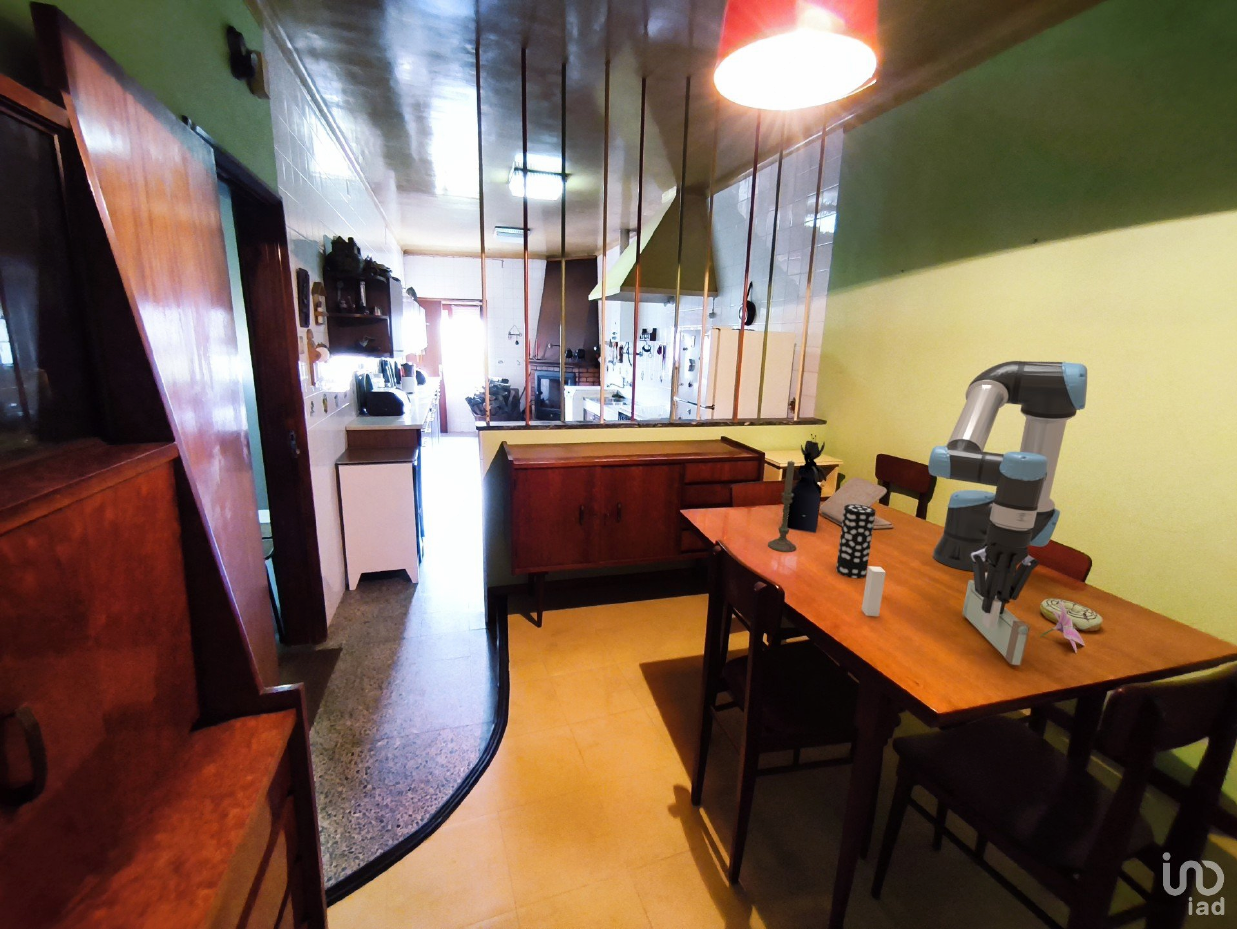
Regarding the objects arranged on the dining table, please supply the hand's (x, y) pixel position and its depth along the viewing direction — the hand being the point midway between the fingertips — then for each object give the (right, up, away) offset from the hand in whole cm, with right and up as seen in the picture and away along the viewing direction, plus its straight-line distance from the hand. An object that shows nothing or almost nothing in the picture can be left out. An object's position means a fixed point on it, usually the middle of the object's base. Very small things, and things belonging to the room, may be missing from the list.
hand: (988, 625), depth 114 cm
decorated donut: (+31, -4, +15) cm, 35 cm away
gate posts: (-5, -2, +15) cm, 16 cm away
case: (+11, +13, +88) cm, 89 cm away
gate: (+3, -4, +5) cm, 7 cm away
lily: (+20, -6, +5) cm, 22 cm away
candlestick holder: (-27, +8, +58) cm, 65 cm away
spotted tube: (-13, +3, +40) cm, 42 cm away
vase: (-13, +12, +79) cm, 81 cm away
